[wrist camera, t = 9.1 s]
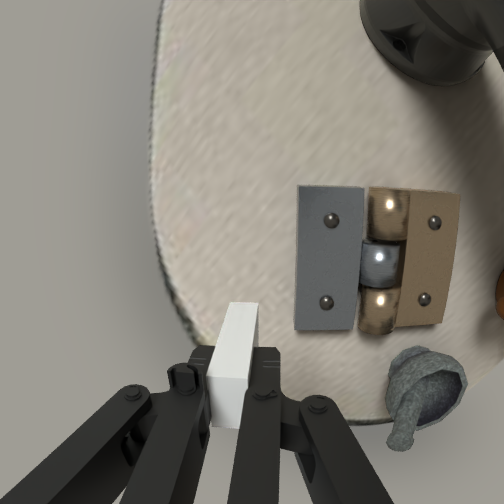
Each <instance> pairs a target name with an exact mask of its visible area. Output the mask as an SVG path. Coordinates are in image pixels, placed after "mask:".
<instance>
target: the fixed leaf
mask: <svg viewBox="0 0 504 504" xmlns="http://www.w3.org/2000/svg"><path fill="white" fill-rule="evenodd" d="M459 207H460V194H456V193H451V192H442V191H431V190H419V189H405V188H389V187H369V199H368V221H367V235H368V236H369V237H372V238H376V239H382V240H392V241H397V242H398V243H399V244H400V251H399V261H398V269H397V277H396V284H395V285H393V286H391V287H385V288H377V287H370V286H366V285H363V284H362V293H361V302H360V310H359V318H358V327H359V328H360V329H361V330H362V331H364V332H366V333H369V334H374V335H385V334H389V333H391V332H392V331H393V330H394V328H395V327H401V326H415V325H427V324H438V323H442V320H443V316H444V311H445V307H446V302H447V297H448V291H449V286H450V280H451V275H452V268H453V262H454V255H455V247H456V239H457V230H458V220H459Z"/></svg>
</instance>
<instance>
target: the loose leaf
mask: <svg viewBox="0 0 504 504" xmlns="http://www.w3.org/2000/svg"><path fill="white" fill-rule="evenodd" d="M363 213H364V188H361V187H356V186H329V185H297V226H296V267H295V296H294V319H293V320H294V330H346V329H353V325H354V317H355V309H356V301H357V291H358V282H359V283H361V284H363V285H366V286H370V287H377V288H385V287H391V286H393V285H395V284H396V277H397V269H398V261H399V251H400V244H399V243H398V242H396V241H392V240H382V239H376V238H365V239H362V232H363Z"/></svg>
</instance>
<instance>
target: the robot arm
mask: <svg viewBox="0 0 504 504" xmlns="http://www.w3.org/2000/svg"><path fill="white" fill-rule="evenodd" d="M360 14H361V19H362V22H363V25H364V27H365V30H366V32H367V34H368V35H369V37H370V39H371V40H372V42H373V43H374V45H375V46H376V47H377V49H378V50H379V51H380V52H381V53H382V55H383V56H384V57H385V58H386V59H387V60H388V61H390V62H391V63H392V64H393V65H394V66H395V67H397V68H398V69H399V70H401V71H402V72H404V73H405V74H407V75H409V76H410V77H412V78H414V79H416V80H419V81H421V82H424V83H427V84H431V85H436V86H450V85H455V84H458V83H460V82H463V81H466V80H468V79H470V78H472V77H473V76H474V75H476V74H477V73H478V72H479V71H480V69H481V68H482V66H483V65H484V63H485V60H486V59H487V58H488V57H489V56H490V55H491V54H492V52H494V54H495V55H496V57H497V59H498V61H499V63H500V65H501V67H502V69H503V72H504V0H360ZM167 373H168V379H169V384H170V390H169V391H167V392H162V393H152V394H150V392H149V390H148V389H147V388H146V387H144V386H142V385H137V384H135V385H128V386H125V387H123V388H122V389H120V390H119V391H118V392H117V393H116V394H115V395H114V396H113V397H112V398H110V399H109V400H108V401H107V402H106V403H105V404H104V405H103V406H102V407H101V408H100V409H99V410H98V411H96V412H95V413H94V414H93V415H92V416H91V417H90V418H89V419H88V420H87V421H86V422H85V423H83V424H82V425H81V426H80V427H79V428H78V429H77V430H76V431H75V432H74V433H73V434H72V435H70V436H69V437H68V438H67V439H66V440H65V441H64V442H63V443H62V444H61V445H60V446H59V447H57V449H55V450H54V451H53V452H52V453H51V454H50V455H49V456H48V457H47V458H45V459H44V460H43V461H42V462H41V463H40V464H39V465H38V466H37V467H36V468H35V469H33V470H32V471H31V472H30V473H29V474H28V475H27V476H26V477H25V478H24V479H22V480H21V481H20V482H19V483H18V484H17V485H16V486H15V487H14V488H13V489H11V491H9V492H8V493H7V494H6V495H5V496H4V497H3V498H1V499H0V504H112V503H113V502H114V501H115V500H116V498H117V497H118V496H119V495H120V494H121V492H122V491H123V490H124V489H125V487H126V486H127V487H126V489H125V492H124V494H123V496H122V499H121V501H120V503H119V504H193V503H194V499H195V495H196V491H197V486H198V482H199V478H200V474H201V470H202V466H203V462H204V458H205V454H206V450H207V445H208V441H209V437H210V431H209V424H210V421H211V422H212V427H223V428H238V429H239V434H238V440H237V446H236V452H235V459H234V465H233V471H232V477H231V484H230V490H229V495H228V501H227V504H278V502H279V468H280V448H281V449H285V450H289V451H293V452H295V457H296V459H297V462H298V465H299V468H300V470H301V473H302V476H303V478H304V481H305V484H306V486H307V489H308V492H309V494H310V497H311V499H312V502H313V504H394V503H393V501H392V499H391V498H390V496H389V495H388V492H387V491H386V489H385V487H384V486H383V484H382V482H381V481H380V479H379V477H378V475H377V474H376V472H375V470H374V469H373V467H372V465H371V464H370V462H369V460H368V458H367V457H366V455H365V453H364V451H363V450H362V448H361V446H360V445H359V443H358V441H357V439H356V438H355V436H354V434H353V433H352V431H351V429H350V427H349V426H348V424H347V422H346V420H345V419H344V417H343V415H342V414H341V412H340V410H339V408H338V407H337V405H336V403H335V402H334V401H333V400H332V399H330V398H328V397H326V396H322V395H312V396H309V397H306V398H305V399H303V400H302V401H301V402H299V401H295V400H292V399H289V398H288V397H286V396H285V395H284V394H283V393H282V392H281V388H280V352H279V351H278V350H277V348H276V347H258V303H250V302H230V304H229V307H228V310H227V313H226V316H225V319H224V322H223V325H222V329H221V332H220V335H219V338H218V341H217V344H216V346H206V345H199V346H198V347H197V348H196V349H194V350H193V352H192V354H191V356H190V359H189V361H188V363H179V364H175V365H173V366H172V367H170V368H169V369H168V370H167Z"/></svg>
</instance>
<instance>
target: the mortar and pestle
mask: <svg viewBox="0 0 504 504" xmlns="http://www.w3.org/2000/svg"><path fill="white" fill-rule="evenodd" d="M388 375H389V377H390V379H391V380H390V383H389V387H388V390H387V394H386V398H385V400H386V406H387V409H388V411H389V414H390V416H391V417H392V419H393V421H394V426H393V430H392V433H391V434H390V435H389V437H388V439H387V442H386V443H387V445H388V447H389V448H390V449H392V450H394V451H402V452H403V451H406V450H409V449H410V448H411V446H412V445H413V442H414V439H413V434H414V431H415V430H416V431H417V430H420V429H423V428H426V427H428V426H431V425H433V424H435V423H438V422H440V421H441V420H443V419H444V418H445V417H446V416H447V415H448V414H449V413H450V412H451V411H452V410H453V409H455V408H456V407H457V406H458V404H459V403H460V401H461V399H462V397H463V394H464V392H465V390H466V387H467V385H468V382H467V379H466V375H465V372H464V369H463V367H462V366H461V365H460V363H459V362H458V361H457V360H455V359H454V358H453V357H451V356H449V355H445V354H441V353H437V352H434V351H430V350H429V349H428V348H425V347H421V346H414V347H411V348H408V349H405V350H403V351H402V352H401V353H400V354H399V355H398V356H397V357H396V358H395V359H394V360H393V361H392V362H391V366H390V369H389V373H388Z"/></svg>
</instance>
